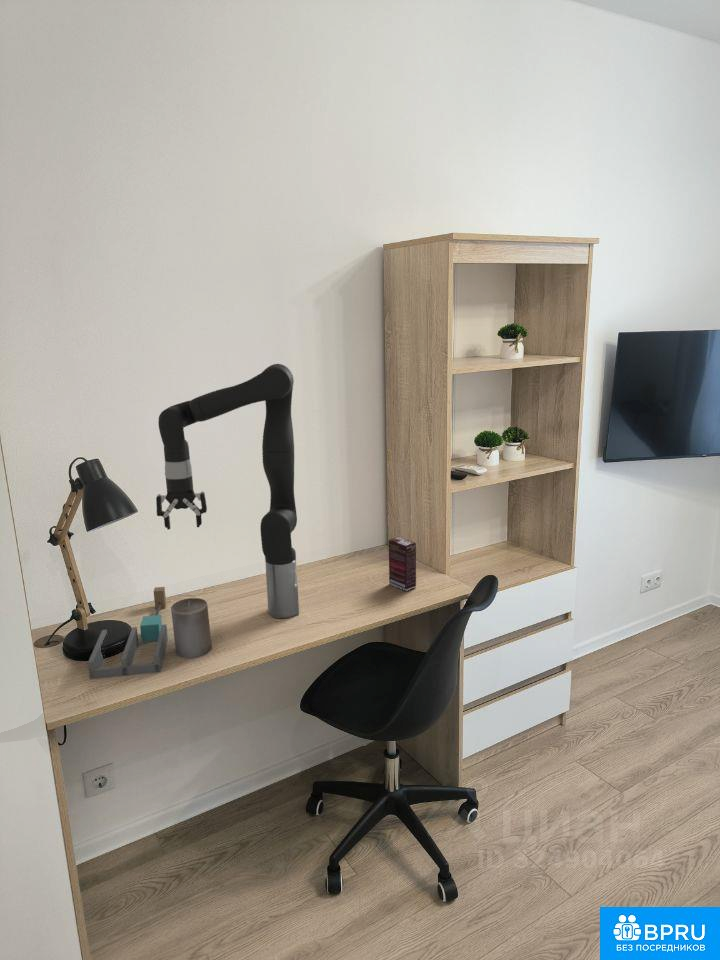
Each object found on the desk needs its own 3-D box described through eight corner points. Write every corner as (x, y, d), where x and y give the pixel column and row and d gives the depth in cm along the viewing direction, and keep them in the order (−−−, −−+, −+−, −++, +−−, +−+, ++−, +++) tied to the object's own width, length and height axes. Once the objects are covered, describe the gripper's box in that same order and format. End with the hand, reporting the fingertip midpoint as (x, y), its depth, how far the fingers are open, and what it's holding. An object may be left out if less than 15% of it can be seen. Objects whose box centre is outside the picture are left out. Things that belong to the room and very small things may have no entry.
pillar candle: (200, 638, 198) (195, 590, 194) (218, 650, 191) (213, 600, 187) (169, 650, 192) (163, 601, 188) (186, 663, 185) (180, 612, 181)
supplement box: (416, 588, 229) (416, 542, 225) (406, 592, 226) (406, 546, 222) (398, 580, 236) (398, 536, 231) (388, 584, 233) (387, 539, 228)
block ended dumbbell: (169, 604, 220) (167, 586, 219) (160, 640, 197) (158, 621, 195) (153, 605, 220) (151, 587, 218) (141, 641, 196) (139, 622, 195)
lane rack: (168, 640, 197) (166, 624, 196) (160, 673, 180) (158, 655, 179) (104, 646, 195) (102, 629, 194) (90, 679, 178) (87, 662, 177)
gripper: (204, 470, 207) (208, 522, 211) (155, 473, 205) (160, 525, 209) (202, 476, 200) (207, 530, 204) (151, 479, 198) (157, 533, 202)
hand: (183, 527), depth 206 cm, fingers open, 8 cm apart
